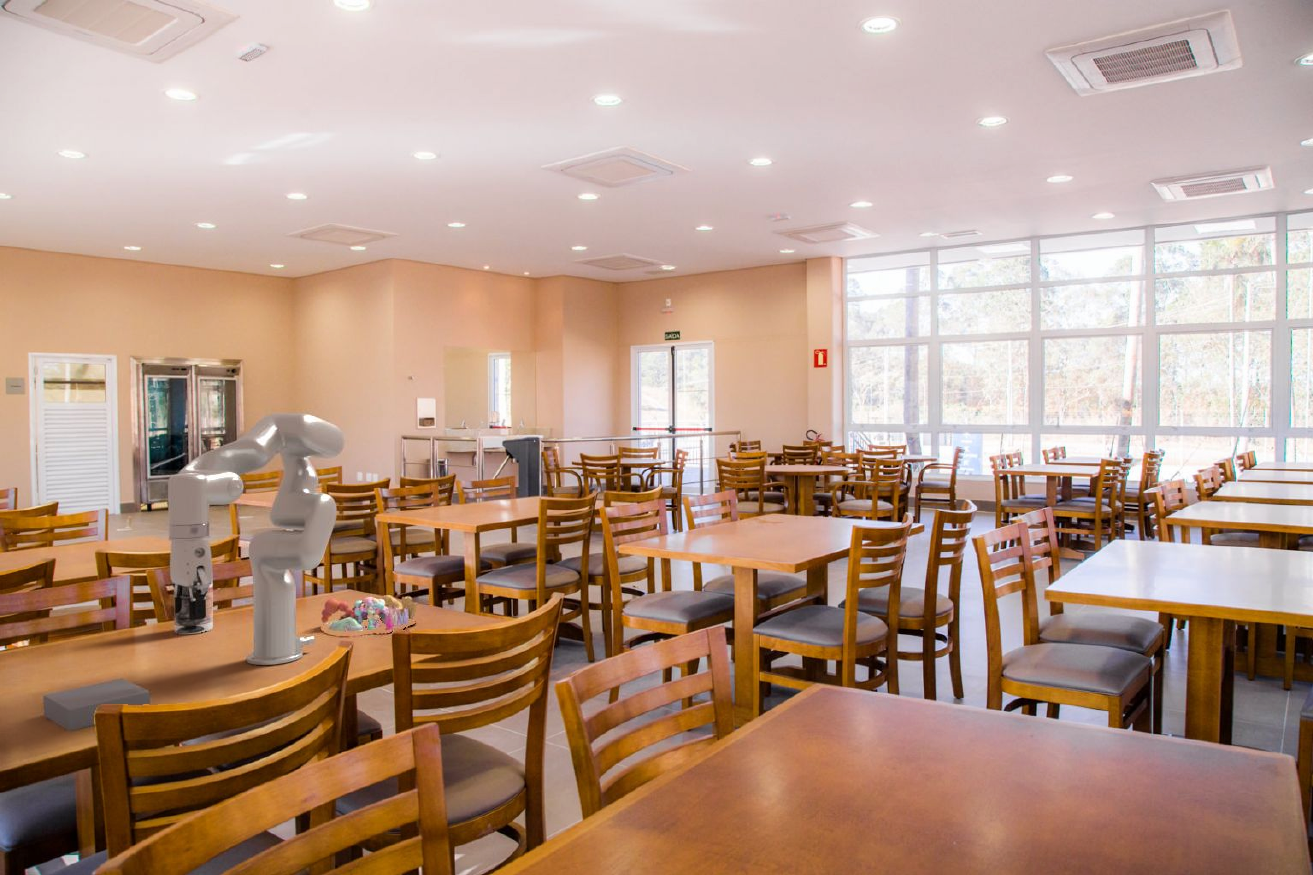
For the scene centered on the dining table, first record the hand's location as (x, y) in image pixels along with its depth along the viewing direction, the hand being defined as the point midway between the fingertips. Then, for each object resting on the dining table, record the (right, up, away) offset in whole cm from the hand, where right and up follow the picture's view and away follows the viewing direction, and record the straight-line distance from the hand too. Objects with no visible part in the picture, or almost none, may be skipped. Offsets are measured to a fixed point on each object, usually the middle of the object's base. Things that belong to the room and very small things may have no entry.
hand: (190, 615), depth 179 cm
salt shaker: (0, -3, 0) cm, 3 cm away
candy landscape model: (+17, -17, +62) cm, 66 cm away
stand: (-13, -17, -10) cm, 24 cm away
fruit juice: (-30, -16, +56) cm, 66 cm away
